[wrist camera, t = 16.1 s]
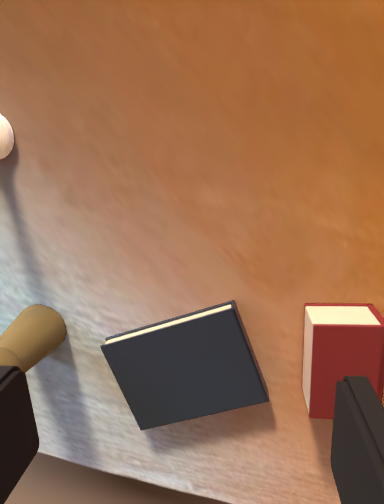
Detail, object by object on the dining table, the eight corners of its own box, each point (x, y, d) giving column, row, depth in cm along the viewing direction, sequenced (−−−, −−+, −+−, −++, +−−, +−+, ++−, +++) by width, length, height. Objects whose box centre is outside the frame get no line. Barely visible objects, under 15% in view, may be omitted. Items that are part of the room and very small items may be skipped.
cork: (75, 340, 44) (24, 402, 34) (35, 355, 46) (-26, 419, 35) (50, 297, 43) (-11, 348, 32) (9, 314, 44) (-62, 368, 34)
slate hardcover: (234, 300, 40) (234, 308, 38) (267, 389, 43) (269, 401, 41) (106, 337, 44) (100, 346, 42) (144, 418, 46) (140, 430, 44)
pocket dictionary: (371, 303, 38) (390, 326, 34) (363, 388, 41) (379, 421, 37) (304, 303, 39) (313, 325, 34) (301, 386, 42) (309, 418, 37)
